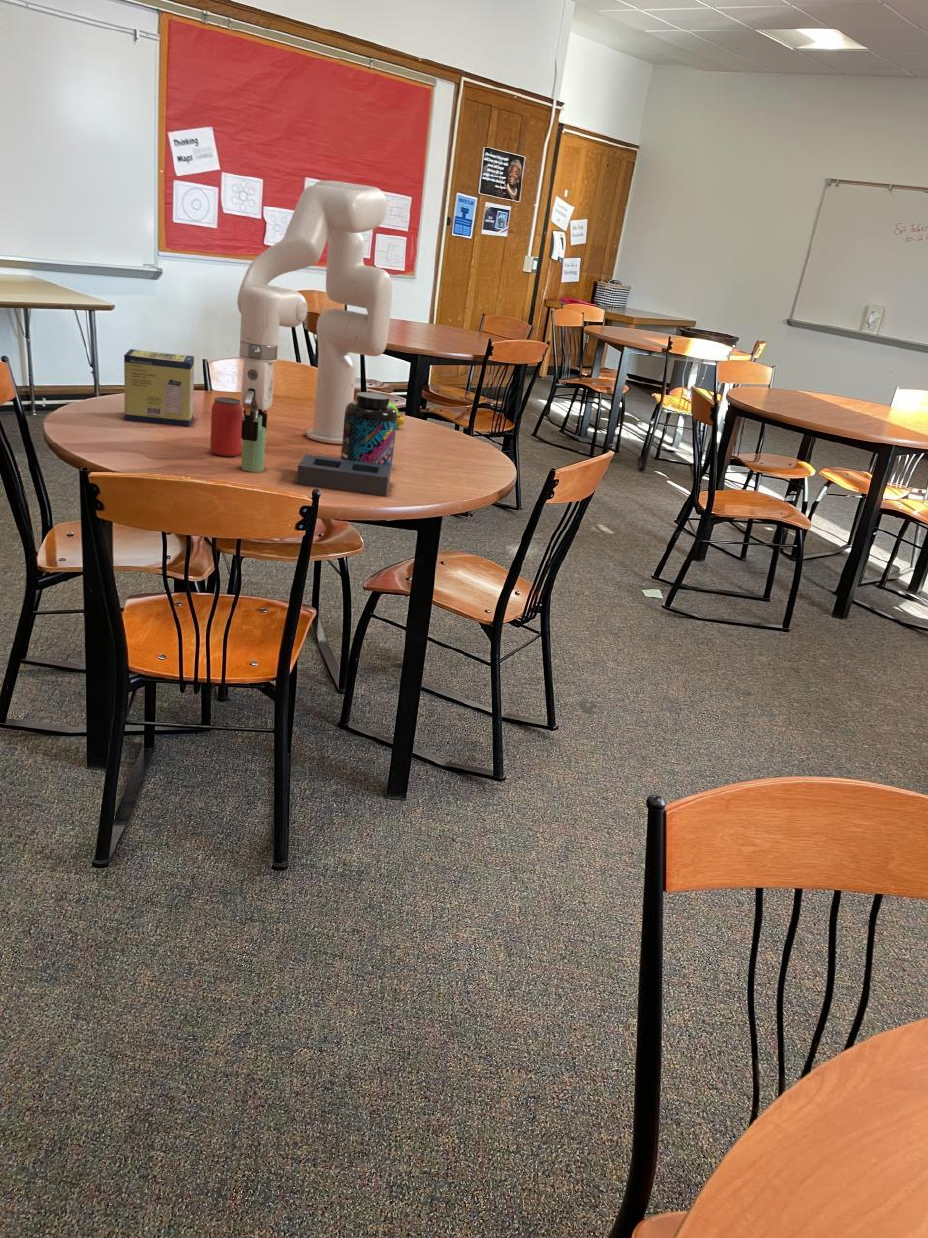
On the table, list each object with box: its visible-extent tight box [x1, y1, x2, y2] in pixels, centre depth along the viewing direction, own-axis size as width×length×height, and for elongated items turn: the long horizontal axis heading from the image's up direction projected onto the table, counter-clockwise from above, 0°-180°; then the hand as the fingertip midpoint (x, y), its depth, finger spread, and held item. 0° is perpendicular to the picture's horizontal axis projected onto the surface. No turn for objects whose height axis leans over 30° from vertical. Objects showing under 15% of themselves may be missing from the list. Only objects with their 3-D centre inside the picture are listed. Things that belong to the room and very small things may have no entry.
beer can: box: [209, 396, 244, 458], centre depth 199 cm, size 7×7×12 cm
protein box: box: [123, 348, 195, 427], centre depth 220 cm, size 10×16×16 cm
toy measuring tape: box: [388, 401, 405, 430], centre depth 255 cm, size 6×20×7 cm, turn 58°
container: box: [340, 391, 397, 467], centre depth 207 cm, size 12×12×17 cm
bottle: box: [240, 415, 267, 473], centre depth 190 cm, size 5×5×12 cm
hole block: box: [296, 453, 392, 497], centre depth 191 cm, size 11×19×4 cm, turn 91°
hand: (253, 435), depth 190 cm, fingers open, 9 cm apart
